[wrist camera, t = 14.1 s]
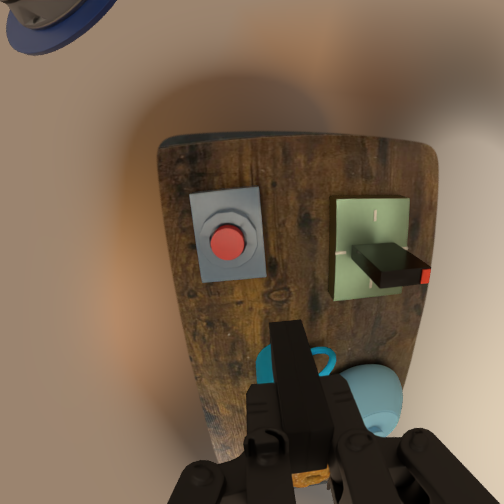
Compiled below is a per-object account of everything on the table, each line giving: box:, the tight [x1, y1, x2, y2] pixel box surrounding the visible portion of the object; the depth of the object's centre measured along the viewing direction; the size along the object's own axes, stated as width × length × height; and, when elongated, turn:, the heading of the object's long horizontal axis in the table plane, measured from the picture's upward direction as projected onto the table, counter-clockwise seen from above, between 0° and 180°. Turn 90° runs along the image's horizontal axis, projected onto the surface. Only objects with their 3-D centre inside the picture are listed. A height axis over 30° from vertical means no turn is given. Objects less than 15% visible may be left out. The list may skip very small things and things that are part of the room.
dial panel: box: [328, 195, 410, 301], centre depth 37 cm, size 13×10×3 cm
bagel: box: [292, 465, 330, 488], centre depth 52 cm, size 10×11×5 cm
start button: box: [211, 225, 244, 260], centre depth 34 cm, size 4×4×2 cm
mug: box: [256, 344, 336, 384], centre depth 40 cm, size 12×8×8 cm
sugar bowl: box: [340, 364, 403, 437], centre depth 41 cm, size 15×15×12 cm
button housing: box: [189, 185, 267, 283], centre depth 36 cm, size 11×8×4 cm
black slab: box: [351, 243, 431, 289], centre depth 31 cm, size 6×2×9 cm, turn 93°
